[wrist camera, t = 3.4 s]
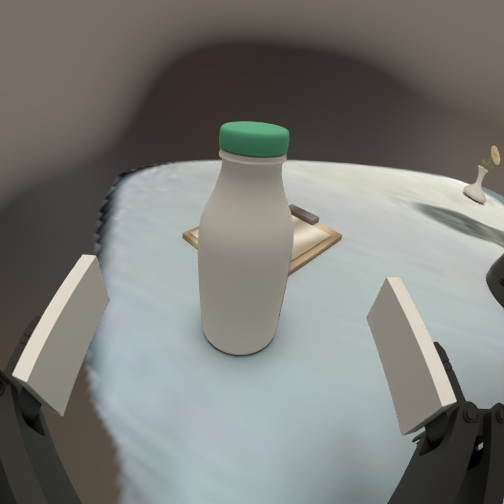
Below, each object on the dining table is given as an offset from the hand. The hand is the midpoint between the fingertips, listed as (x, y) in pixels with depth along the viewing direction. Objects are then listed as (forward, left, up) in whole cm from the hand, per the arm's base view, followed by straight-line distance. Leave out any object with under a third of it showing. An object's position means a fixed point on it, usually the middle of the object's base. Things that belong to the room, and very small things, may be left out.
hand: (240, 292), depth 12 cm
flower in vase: (-15, -115, -15) cm, 117 cm away
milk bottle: (+7, -7, -15) cm, 18 cm away
